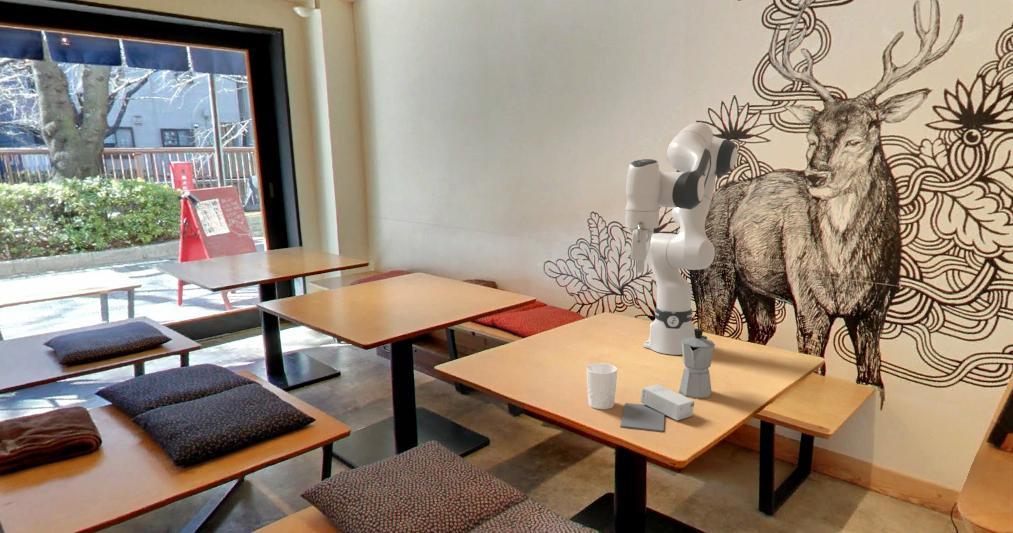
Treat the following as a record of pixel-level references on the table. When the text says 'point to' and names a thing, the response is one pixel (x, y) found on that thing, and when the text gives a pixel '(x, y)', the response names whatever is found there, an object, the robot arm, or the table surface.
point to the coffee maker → (696, 366)
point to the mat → (642, 418)
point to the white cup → (601, 385)
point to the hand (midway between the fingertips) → (640, 271)
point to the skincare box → (667, 402)
